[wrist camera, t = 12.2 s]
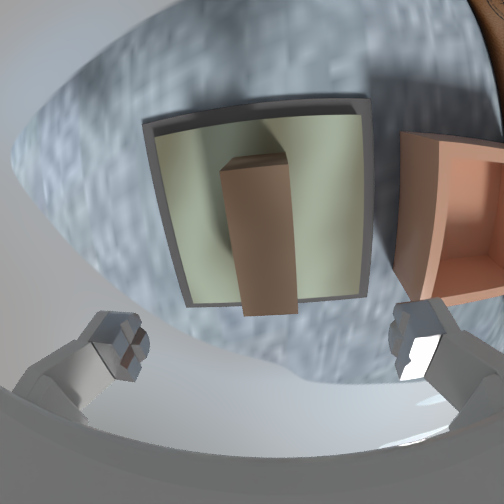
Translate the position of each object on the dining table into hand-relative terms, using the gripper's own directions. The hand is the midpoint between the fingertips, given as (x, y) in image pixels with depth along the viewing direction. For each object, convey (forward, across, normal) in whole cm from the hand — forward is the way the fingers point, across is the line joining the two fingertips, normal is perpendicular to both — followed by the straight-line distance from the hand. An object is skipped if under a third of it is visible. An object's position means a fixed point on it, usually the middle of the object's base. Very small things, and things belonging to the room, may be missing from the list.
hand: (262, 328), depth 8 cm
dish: (+11, -14, 0) cm, 18 cm away
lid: (+11, 0, 0) cm, 11 cm away
